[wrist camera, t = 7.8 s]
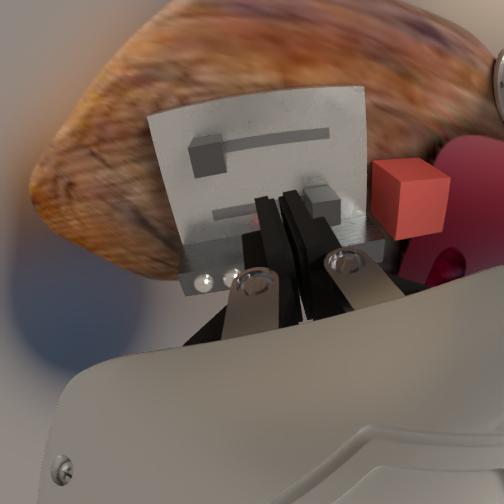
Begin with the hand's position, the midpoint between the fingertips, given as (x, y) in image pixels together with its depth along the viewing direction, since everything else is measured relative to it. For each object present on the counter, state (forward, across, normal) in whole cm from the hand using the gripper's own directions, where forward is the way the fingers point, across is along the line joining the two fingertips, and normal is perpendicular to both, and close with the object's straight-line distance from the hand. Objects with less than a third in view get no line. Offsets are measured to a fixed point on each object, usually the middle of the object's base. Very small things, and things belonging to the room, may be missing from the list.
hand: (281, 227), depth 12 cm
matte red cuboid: (+17, -14, +8) cm, 24 cm away
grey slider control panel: (+17, -1, +3) cm, 17 cm away
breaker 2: (+14, -5, +6) cm, 16 cm away
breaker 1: (+14, +3, 0) cm, 14 cm away
